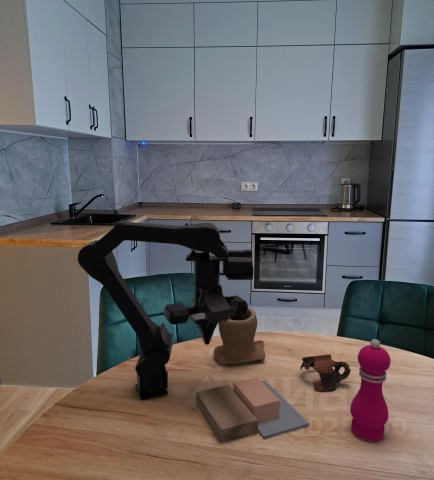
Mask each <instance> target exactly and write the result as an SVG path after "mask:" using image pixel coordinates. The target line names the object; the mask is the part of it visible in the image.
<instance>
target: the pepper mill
mask: <svg viewBox="0 0 434 480" xmlns="http://www.w3.org/2000/svg"><path fill="white" fill-rule="evenodd" d="M357 362H358V364H359V368H358V369H359V372H358V375H359V377H360V387H359V389H358V391H357V393H356V394H355V395H354V397H353V399H352V400H351V403H350V407H349V410H350V411H349V412H350V414H351V417H352V419H351V423H350V424H351V425H350V429H351V431H352V433H353V434H354V435H355V436H356V437H357V438H359V439H361V440H363V441H368V442H378V441H381V440H382V439H384V436H385V425H386V424H387V423H388V420H389V409H388V408H389V407H388V405H387V401H386V399H385V397H384V394H383V385H384V382H386V380H387V373H388V372H387V371H388V370H389V368H390V367H391V356H390V354H389V352H388V350H386V349H385V348H383V347H382V346H381V341H380V340H378V339H376V338H373V339H372V340H370V343H369V344H367V345H364V346H363V347H362V348H360V350H359V352H358V354H357Z"/></svg>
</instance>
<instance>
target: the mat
mask: <svg viewBox="0 0 434 480" xmlns="http://www.w3.org/2000/svg"><path fill="white" fill-rule="evenodd" d="M260 381H261V382H262V383H263V384H264V385H265V386H266V387H267V388H268V389H269V390H270V391H271V392H272V393H273V394H274V395H275V396H276V397H277V398H278V399H279V400H280V411H279V418H276V419H272V420H268V421H265V422H261V423H258V433H259V435H260V436H261V438H262V439H263V440H265V439H268V438H273V437H276V436H279V435H282V434H287V433H289V432H292V431H293V432H294V431H296V430H299V429H302V428H306V427H310V422H308V421H307V420H306V418H304V417H303V416H302V415H301V414H300V412H298V411H297V410H296V409H295V408H294V407H293V406H292V405H291V403H289V402H288V401H287V400H286V399H285V398H284V397H283V396H282V395H281V394H280V393H279V392H278V391H277V390H276V389H275V388H274V387H273V386H272V385H271V384H270V383H269V382H268V381H267V380H265V379H264V380H260ZM231 388H232V389H233V390H234V387H231Z"/></svg>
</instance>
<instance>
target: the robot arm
mask: <svg viewBox="0 0 434 480" xmlns="http://www.w3.org/2000/svg"><path fill="white" fill-rule="evenodd" d="M220 233H221V232H220V230H219V228H218V227H217V226H216V225H215V224H214V223H212V222H199V223H192V224H185V225H173V224H172V225H170V224H159V223H157V224H156V223H148V222H147V223H146V222H137V221H136V222H134V221H133V222H132V221H128V220H121V221H119V222H118V223H116V224H115V225H114V226H113V228H111V229H110V230H109V231H108V232H107V233H106V234H104V235H103V236H101V237H100V239H97V240H93V241H91V242H89V243H88V244H86V245H84V246H83V247H82V248H80V250H79V252H78V254H77V262H78V265H79V266H80V268H81V269H82V270H84V271H85V272H86V274H87V275H88V276H89V277H90V278H92V279H94V280H95V281H97V282H98V283H99V284H101V285H102V286H103V287H104V289H105V291H106V292H107V294H108V295H109V297H110V298H111V300H112V301H113V303H114V304H115V305H116V307H117V308H118V310H119V311H120V312H121V314H122V316H123V317H124V319H125V320H126V322H127V323H128V324H129V326H130V327H131V328H132V330H133V331H134V333H135V334H136V337H137V340H138V341H137V342H138V345H139V349H140V351H141V352H140V354H139V356H138V359H137V362H136V364H135V367H134V370H135V372H136V384H135V385H134V386H135V387H134V388H135V390H136V392H137V394H138V397H139V400H141V401H144V400H151V399H154V398H158V397H163V396H167V395H168V394H169V391H168V388H169V371H168V370H167V369H166V365H167V364H168V363H169V361H170V358H171V354H172V350H173V345H174V342H173V339H172V338H173V333H171V332H169V330H168V328H167V327H166V324H165V323H164V322H162V323H161V324H159V325H158V324H156V323H155V322H154V321H153V320H152V319H151V317H150V316H149V314H148V312H146V310H145V308H144V307H143V306H142V304H141V302H140V301H139V300H138V299H137V296H135V294H134V292H133V291H132V289H131V288H130V286H129V285H128V283H127V282H126V280H125V279H124V277H123V276H122V274H121V273H120V270H119V267H118V264H117V263H118V262H117V260H116V257H115V254H114V252H113V251H114V250H115V249H116V248H117V247H118V246H120V245H121V244H122V243H123V242H125V241H128V242H129V241H132V242H144V243H153V244H156V243H157V244H170V245H178V246H182V247H185V248H187V249H189V250H191V251H190V252H189V253H188V254H186V257H185V261H186V262H193V264H194V265H193V267H194V268H193V269H194V271H193V275H194V276H193V278H194V281H192V287H194V290H193V291H194V292H193V294H194V295H193V296H194V297H193V298H192V304H193V306H185V305H184V304H183V303H182V302H177V303H170V304H169V303H168V304H166V305H165V307H164V308H163V317H164V318H165V319H166V320H167V321H168V323H169V324H170V325H175V326H176V325H181V324H186V323H187V322H188V321H189V319H191V321H192V322H193V323H194V324H195V325H196V326H197V328H198V331H199V333H200V334H199V335H200V336H201V339H202V341H203V343H204V345H205V346H207V345H210V342H211V341H212V339H213V334H214V332H215V330H216V328H217V326H218V325H219V322H220V321H228V319H229V315H230V314H236V315H241V314H247V313H248V307H249V304H248V302H247V301H246V300H245V299H243V298H242V297H240V296H239V295H230V296H227V295H226V296H224V293H223V287H222V285H221V283H220V282H221V281H220V280H221V279H220V278H221V277H220V275H221V273H220V271H221V270H220V269H221V266H220V265H221V262H222V276H225V278H226V279H227V280H228V281H253V279H254V272H255V271H254V265H253V263H254V261H253V251H252V249H242V250H240V249H239V250H235V249H234V250H231V249H229V248H228V246H227V245H226V244H225V243H224V242H223V240H222V239H221V234H220ZM211 254H212V255H211Z"/></svg>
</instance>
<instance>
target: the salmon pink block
mask: <svg viewBox="0 0 434 480" xmlns="http://www.w3.org/2000/svg"><path fill="white" fill-rule="evenodd" d="M261 381H262V380H261V379H260V378H258V376H256V377H252V378H247V379H244V380H243V379H242V380H238V381H233V388H234V392H235V393H236V394H237V395H238V396H239V398H240V399H241V400H242V401H243V402H244V404H245V405H246V406H247V407H248V408H249V410H250V411H251V412H252V413H253V414H254V416H255V417H256V418H257V419H258V423H261V422H265V421H268V420H272V419H276V418H279V411H280V400H279V399H278V398H277V397H276V396H275V395H274V394H273V393H272V392H271V391H270V390H269V389H268V388H267V387H266V386H265V385H264V384H263V383H262V382H261Z"/></svg>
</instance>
